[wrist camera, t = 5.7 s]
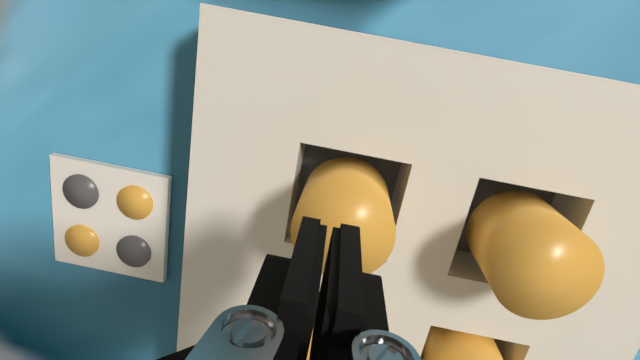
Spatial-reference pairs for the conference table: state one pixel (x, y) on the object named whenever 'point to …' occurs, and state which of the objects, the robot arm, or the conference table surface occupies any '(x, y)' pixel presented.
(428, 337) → the button
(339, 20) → the conference table surface
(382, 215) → the button
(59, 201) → the tile
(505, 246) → the button
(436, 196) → the console
